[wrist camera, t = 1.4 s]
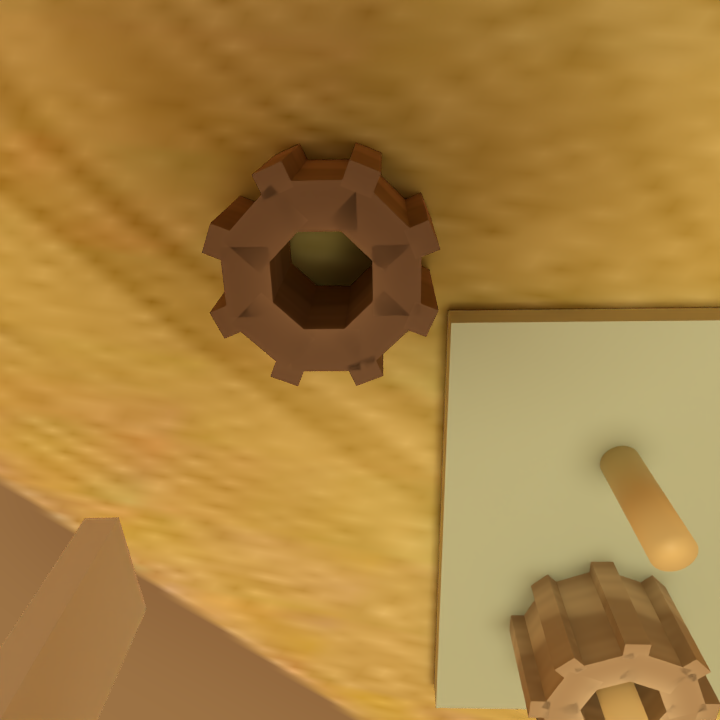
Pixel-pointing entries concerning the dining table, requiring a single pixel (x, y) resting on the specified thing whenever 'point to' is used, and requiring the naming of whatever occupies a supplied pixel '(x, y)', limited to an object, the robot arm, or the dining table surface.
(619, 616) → the beech gear
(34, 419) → the dining table surface
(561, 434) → the gear board
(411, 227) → the walnut gear
